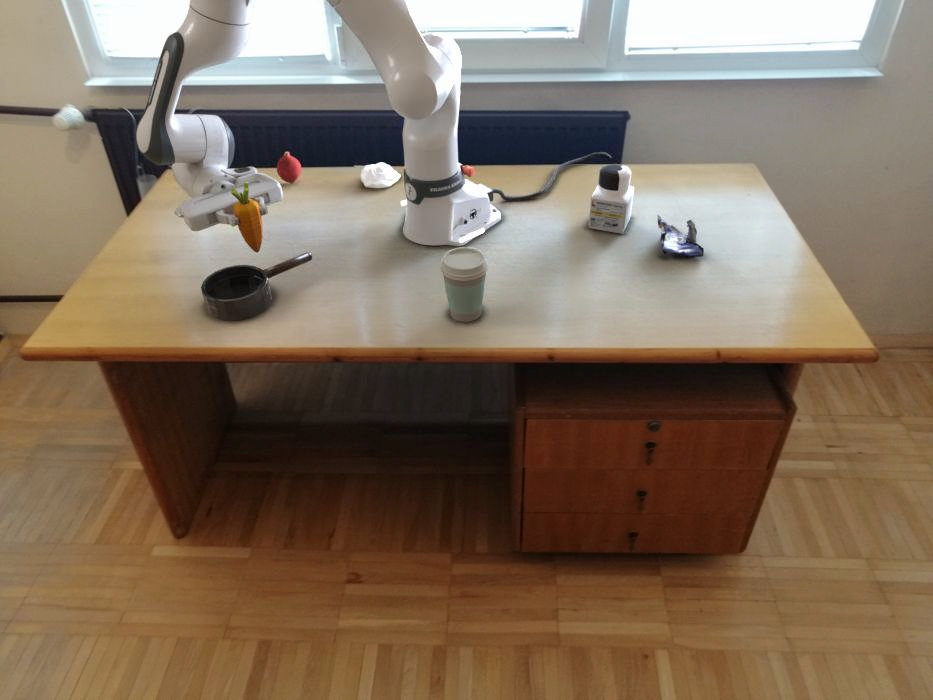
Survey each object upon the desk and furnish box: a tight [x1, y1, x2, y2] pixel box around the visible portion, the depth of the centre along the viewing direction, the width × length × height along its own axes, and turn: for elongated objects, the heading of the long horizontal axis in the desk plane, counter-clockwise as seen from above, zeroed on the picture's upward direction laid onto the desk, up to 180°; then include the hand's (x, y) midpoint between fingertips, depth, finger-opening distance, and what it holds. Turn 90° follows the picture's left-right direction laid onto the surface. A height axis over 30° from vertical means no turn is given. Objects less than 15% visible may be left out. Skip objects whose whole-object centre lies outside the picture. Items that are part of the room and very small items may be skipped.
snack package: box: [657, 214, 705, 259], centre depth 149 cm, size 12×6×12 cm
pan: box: [200, 264, 273, 322], centre depth 137 cm, size 12×12×4 cm
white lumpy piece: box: [360, 161, 401, 189], centre depth 176 cm, size 10×4×10 cm
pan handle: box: [259, 251, 313, 280], centre depth 142 cm, size 11×2×2 cm, turn 130°
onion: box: [276, 151, 302, 184], centre depth 175 cm, size 6×6×8 cm
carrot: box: [231, 182, 264, 254], centre depth 141 cm, size 5×5×15 cm
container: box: [588, 163, 635, 235], centre depth 154 cm, size 8×8×13 cm
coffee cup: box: [439, 246, 489, 323], centre depth 130 cm, size 8×9×12 cm
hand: (250, 216), depth 140 cm, fingers closed on carrot, 5 cm apart
